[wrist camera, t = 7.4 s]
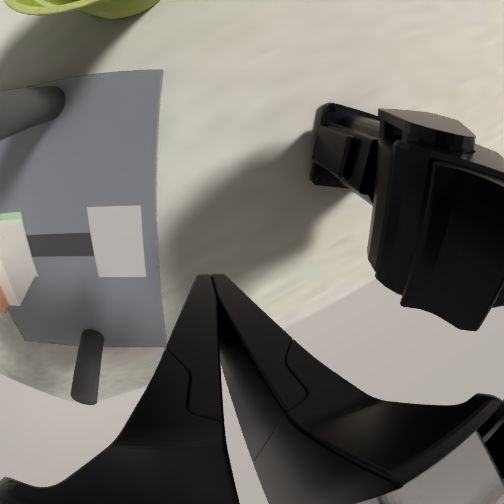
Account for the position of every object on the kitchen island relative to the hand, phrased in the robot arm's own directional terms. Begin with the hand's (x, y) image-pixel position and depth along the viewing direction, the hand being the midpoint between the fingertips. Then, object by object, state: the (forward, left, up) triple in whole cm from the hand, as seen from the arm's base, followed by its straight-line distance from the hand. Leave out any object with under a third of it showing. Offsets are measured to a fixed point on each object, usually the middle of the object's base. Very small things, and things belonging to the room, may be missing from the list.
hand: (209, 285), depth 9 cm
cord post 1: (+10, -5, -11) cm, 16 cm away
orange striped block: (+15, +5, -11) cm, 19 cm away
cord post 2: (+10, +16, -11) cm, 21 cm away
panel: (+11, +5, -12) cm, 17 cm away
